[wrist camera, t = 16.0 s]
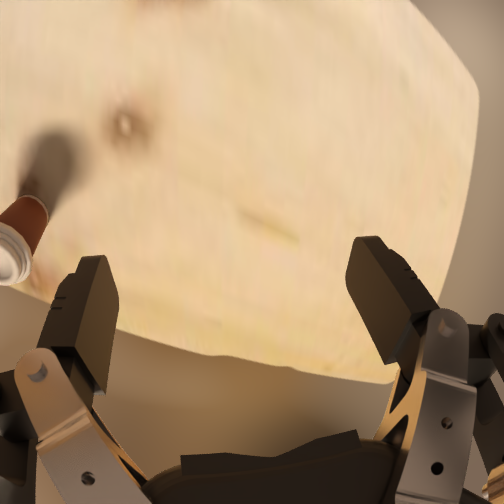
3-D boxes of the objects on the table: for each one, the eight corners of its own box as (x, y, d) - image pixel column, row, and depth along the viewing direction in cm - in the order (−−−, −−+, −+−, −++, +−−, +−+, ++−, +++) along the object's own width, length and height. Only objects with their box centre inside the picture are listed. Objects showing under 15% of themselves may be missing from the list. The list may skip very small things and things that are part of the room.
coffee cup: (-3, 206, 37) (-41, 254, 27) (31, 174, 35) (-10, 219, 26) (32, 248, 42) (3, 301, 33) (68, 221, 41) (39, 275, 31)
